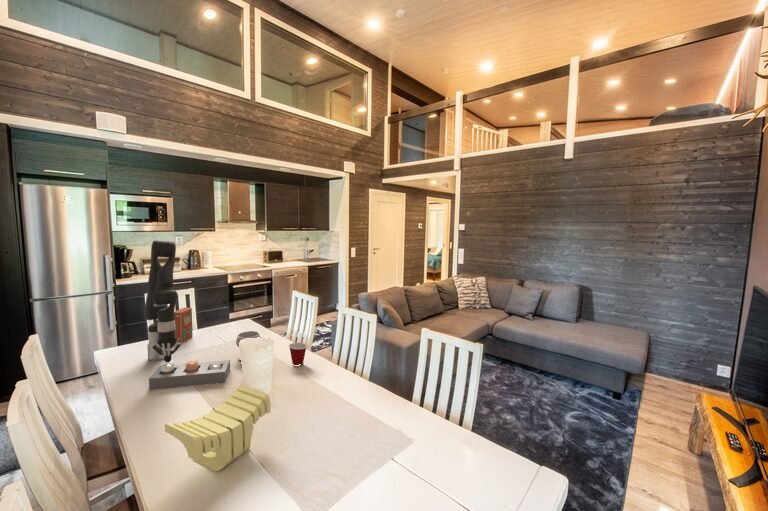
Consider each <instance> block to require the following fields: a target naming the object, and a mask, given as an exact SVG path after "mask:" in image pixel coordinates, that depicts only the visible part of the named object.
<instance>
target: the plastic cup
mask: <svg viewBox="0 0 768 511" xmlns="http://www.w3.org/2000/svg"><path fill="white" fill-rule="evenodd" d="M288 348H289V351H290V357H291V362H292V365H293V364H294V365H299V364H302V363H303V364H304V360H305V356H306V351H307V348H308V344H306V343H304V342H292V343H290V344H288Z"/></svg>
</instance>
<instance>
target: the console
mask: <svg viewBox="0 0 768 511" xmlns="http://www.w3.org/2000/svg"><path fill="white" fill-rule="evenodd" d="M213 364H221V369H214V370H209V366H210V365H213ZM161 366H162V365H159V367H157V369H155V371H154V372H153V373H152V374H151V376H149V377H148V390H149V391H157V390H166V389H176V388H177V389H178V388H185V387H196V386H197V387H198V386H207V384H208V385H217V384H216V383H218V384H225V383H226V382H227V380H226V379H228V377H229V375H230V372H231V360H230V359H229V360H228V359H227V360H225V359H224V360H217V361H216V360H215V361H204V362H203V361H202V362H198V371H191V372H186V363H180V364H176V363H175V364H174V367H175V372H174V373H168V374H162V370H161ZM228 374H229V375H228Z"/></svg>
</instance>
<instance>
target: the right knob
mask: <svg viewBox="0 0 768 511" xmlns="http://www.w3.org/2000/svg"><path fill="white" fill-rule="evenodd" d="M214 369H221V364H213V365H210V366H209V370H214Z"/></svg>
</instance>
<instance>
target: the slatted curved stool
mask: <svg viewBox="0 0 768 511" xmlns="http://www.w3.org/2000/svg"><path fill="white" fill-rule="evenodd" d="M213 410H214V411H212V410H211V411H210V412H208V413H205V415H202V417H201V416H200V417H197V418H195V419H191V420H190V421H183V422H181V423H180V422H175V423H164V432H165V433H166V434H169V435H170V436H173V437H174V438H175V439H177V440H178V441H179V442H180V443H181V444H182V445H183V446H184V448H185V449H186V453H187V457H188V458H190V459H191V460H193V461H195V462H198V463H200V464H202V465H203V466H205V467H208V469H209V468H210V469H211V470H213V471H214V472H215V471H216V472H217V471H222V469H224V468H225V467H227V465H229V464H230V463H231V462H233V461H234V460H235V459H237V458H238V457H240V456H241V455H242V454H244V453H245V452H246V451H247V450H249V449H251V444H252V437H253V432H254V425H256V424H257V423H258V421H259V420H260V418H263V416H265V415H266V414H269V413H271V399H270V396H269V394H267V393H266V392H265V391H262V390H261V389H260V390H259V389H256V388H255V387H252V386H248V385H244V384H242V383H241V384H240V385H239V386H238V387H237V389H236V390H234V391H233V393H232V394H231V395H230V396H229V397H228V398H226V399H225V401H224V402H222V403H220V405H218V406H217V407H216V408H215V409H213Z"/></svg>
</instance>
